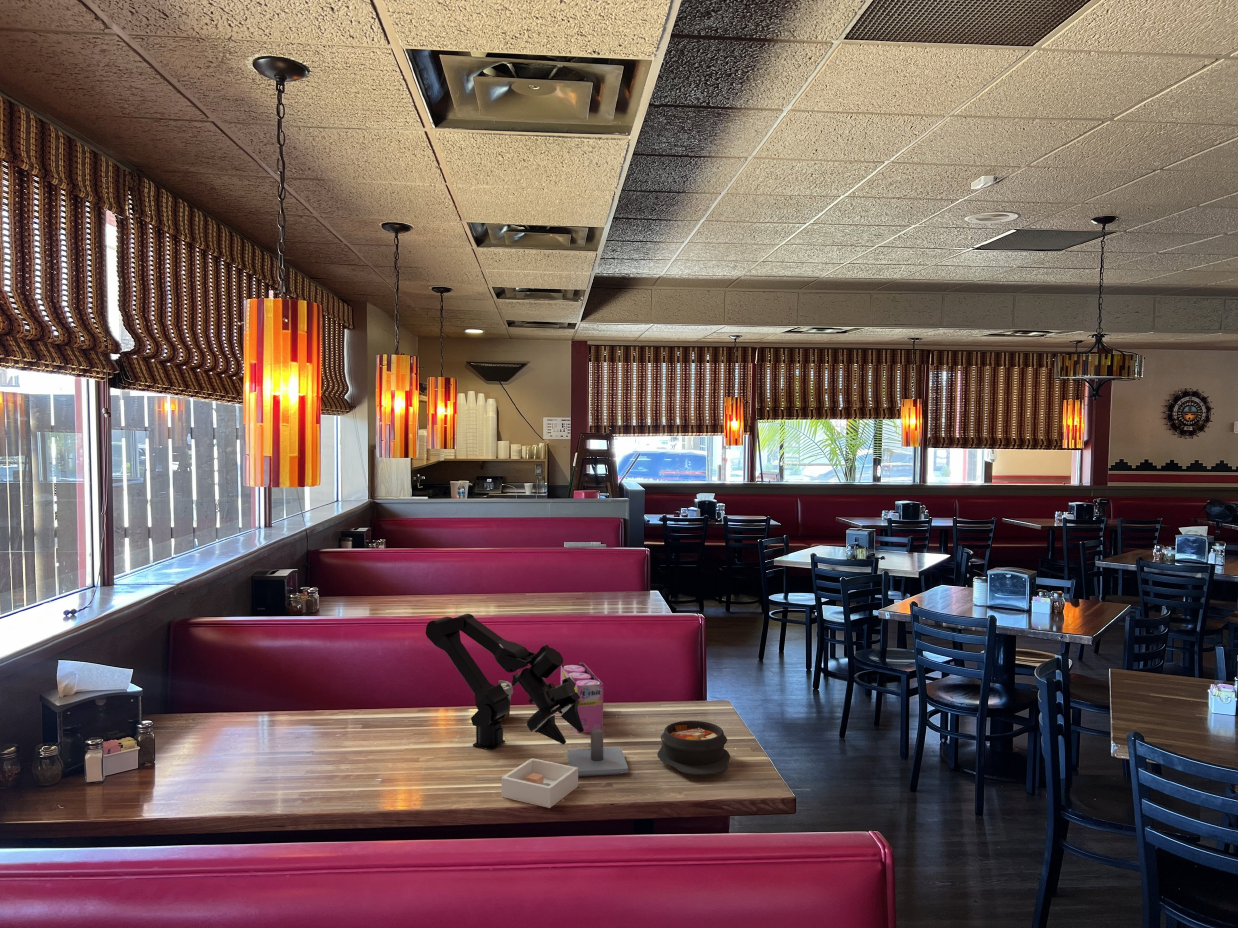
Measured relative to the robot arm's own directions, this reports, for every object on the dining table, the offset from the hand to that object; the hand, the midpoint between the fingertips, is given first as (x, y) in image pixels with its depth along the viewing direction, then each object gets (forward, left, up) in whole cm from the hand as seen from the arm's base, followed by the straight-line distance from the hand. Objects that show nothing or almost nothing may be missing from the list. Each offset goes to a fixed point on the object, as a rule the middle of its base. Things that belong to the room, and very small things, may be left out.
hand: (573, 737), depth 215 cm
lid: (+7, 0, -6) cm, 9 cm away
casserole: (+27, +14, -7) cm, 31 cm away
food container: (-34, +18, -7) cm, 39 cm away
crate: (+2, -19, -6) cm, 20 cm away
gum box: (-14, +29, -7) cm, 33 cm away
